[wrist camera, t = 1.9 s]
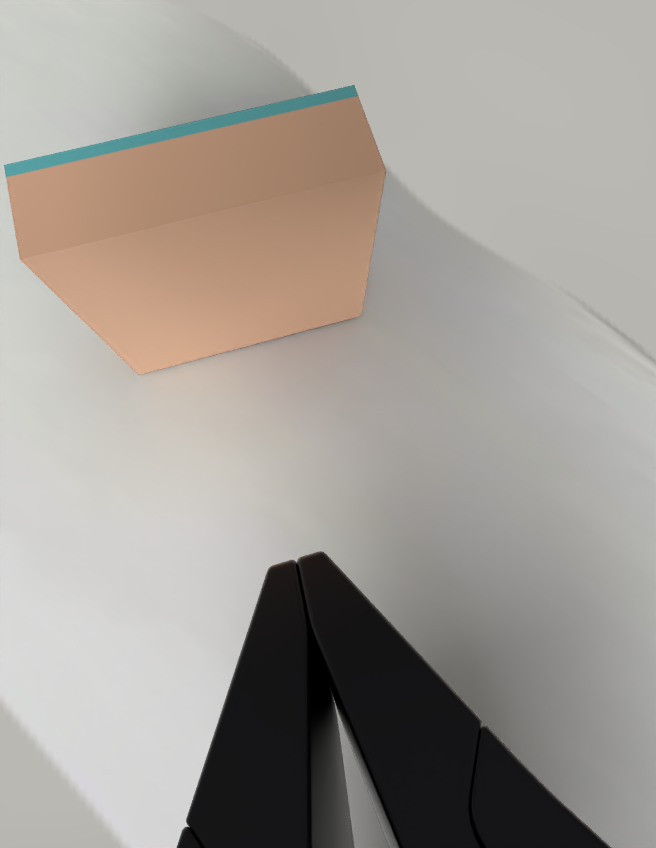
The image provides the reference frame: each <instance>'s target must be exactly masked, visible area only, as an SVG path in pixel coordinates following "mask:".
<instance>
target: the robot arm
mask: <svg viewBox="0 0 656 848" xmlns="http://www.w3.org/2000/svg"><path fill="white" fill-rule="evenodd" d="M333 697H334V698H333ZM334 700H335V703H336V706H337V709H338V712H339V715H340V718H341V721H342V724H343V726H344V729H345V732H346V734H347V737H348V740H349V742H350V745H351V748H352V750H353V753H354V756H355V758H356V761H357V763H358V766H359V769H360V771H361V774H362V777H363V779H364V782H365V785H366V787H367V790H368V793H369V795H370V798H371V801H372V803H373V806H374V808H375V811H376V814H377V816H378V819H379V822H380V824H381V827H382V830H383V832H384V835H385V838H386V840H387V843H388V846H389V848H611V847H610V846H609V845H608V844H607V843H606V842H604V841H603V840H602V839H601V838H600V837H599V836H598V835H597V834H596V833H594V832H593V831H592V830H591V829H590V828H589V827H588V826H587V825H586V824H585V823H584V822H582V821H581V820H580V819H579V818H578V817H577V816H576V815H575V814H574V813H573V812H572V811H571V810H569V809H568V808H567V807H566V806H565V805H564V804H563V803H562V802H561V801H560V800H559V799H557V798H556V797H555V796H554V795H553V794H552V793H551V792H550V791H549V790H548V789H547V788H546V787H545V786H544V785H543V784H542V783H541V782H540V781H539V780H538V779H537V778H536V777H535V776H534V775H533V774H532V773H531V772H530V771H529V770H528V769H527V768H526V767H525V766H524V765H523V764H522V763H521V762H520V761H519V760H518V759H517V758H516V756H515V755H514V754H513V753H512V752H511V751H510V750H509V749H508V748H507V747H506V746H505V745H504V744H503V743H502V742H501V741H500V740H499V738H498V737H497V736H496V735H495V734H494V733H493V732H492V731H491V730H490V729H489V728H488V727H487V726H483V727H482V721H481V720H480V719H479V718H478V716H477V715H476V714H475V713H474V712H473V711H472V710H471V709H470V708H469V707H468V706H467V705H466V704H465V702H464V701H463V700H462V699H461V698H460V697H459V696H458V695H457V694H456V693H455V692H454V691H453V690H452V689H451V687H450V686H449V685H448V684H447V683H446V682H445V681H444V680H443V679H442V678H441V677H440V676H439V675H438V674H437V672H436V671H435V670H434V669H433V668H432V667H431V666H430V665H429V664H428V663H427V662H426V661H425V660H424V659H423V657H422V656H421V655H420V654H419V653H418V652H417V651H416V650H415V649H414V648H413V647H412V646H411V645H410V643H409V642H408V641H407V640H406V639H405V638H404V637H403V636H402V635H401V634H400V633H399V632H398V631H397V630H396V628H395V627H394V626H393V625H392V624H391V623H390V622H389V621H388V620H387V619H386V618H385V617H384V616H383V615H382V613H381V612H380V611H379V610H378V609H377V608H376V607H375V606H374V605H373V604H372V603H371V602H370V601H369V600H368V598H367V597H366V596H365V595H364V594H363V593H362V592H361V591H360V590H359V589H358V588H357V587H356V586H355V584H354V583H353V582H352V581H351V580H350V579H349V578H348V577H347V576H346V575H345V574H344V573H343V572H342V571H341V569H340V568H339V567H338V566H337V565H336V564H335V563H334V562H333V561H332V560H331V559H330V558H329V557H328V556H327V555H326V554H325V553H324V552H321V551H320V552H316V553H313V554H309V555H306V556H303V557H300V558H299V559H298V561H297V562H296V561H294V560H289V561H286V562H283V563H280V564H276V565H273V566H271V567H270V568H269V569H268V571H267V574H266V577H265V580H264V583H263V586H262V589H261V592H260V595H259V598H258V601H257V604H256V607H255V610H254V613H253V617H252V620H251V623H250V626H249V629H248V632H247V635H246V638H245V641H244V644H243V647H242V650H241V653H240V656H239V659H238V662H237V666H236V669H235V672H234V675H233V678H232V681H231V684H230V687H229V690H228V693H227V696H226V699H225V702H224V705H223V708H222V711H221V715H220V718H219V721H218V724H217V727H216V730H215V733H214V736H213V739H212V742H211V745H210V748H209V751H208V754H207V757H206V760H205V764H204V767H203V770H202V773H201V776H200V779H199V782H198V785H197V788H196V791H195V794H194V797H193V800H192V803H191V806H190V809H189V813H188V816H187V819H186V822H187V824H188V826H189V827H190V828H189V827H185V828H184V829H183V830H182V833H181V836H180V839H179V842H178V845H177V848H354V842H353V834H352V826H351V819H350V811H349V803H348V796H347V788H346V780H345V773H344V765H343V757H342V750H341V742H340V734H339V727H338V720H337V714H336V708H335V703H334Z"/></svg>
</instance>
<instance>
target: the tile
mask: <svg viewBox="0 0 656 848" xmlns="http://www.w3.org/2000/svg"><path fill="white" fill-rule="evenodd" d="M4 168H5V174H6V180H7V186H8V191H9V197H10V203H11V209H12V215H13V221H14V227H15V233H16V238H17V244H18V250H19V256H20V260H21V261H22V262H23V263H24V264H25V265H26V266H27V267H28V268H29V269H30V270H31V271H32V272H33V273H34V274H35V275H36V276H37V277H38V278H40V279H41V280H42V281H43V282H44V283H45V284H46V285H47V286H48V287H49V288H50V289H51V290H52V291H53V292H54V293H55V294H56V295H57V296H58V297H59V298H60V299H61V300H62V301H63V302H64V303H65V304H66V305H67V306H68V307H69V308H70V309H71V310H73V311H74V312H75V313H76V314H77V315H78V316H79V317H80V318H81V319H82V320H83V321H84V322H85V323H86V324H87V325H88V326H89V327H90V328H91V329H92V330H93V331H94V332H95V333H96V334H97V335H98V336H99V337H100V338H101V339H102V340H103V341H104V342H105V343H107V344H108V345H109V346H110V347H111V348H112V349H113V350H114V351H115V352H116V353H117V354H118V355H119V356H120V357H121V358H122V359H123V360H124V361H125V362H126V363H127V364H128V365H129V366H130V367H131V368H132V369H133V370H134V371H135V372H136V373H137V374H138V375H141V374H144V373H148V372H152V371H156V370H159V369H163V368H167V367H171V366H175V365H178V364H182V363H186V362H190V361H193V360H197V359H201V358H205V357H208V356H212V355H216V354H220V353H223V352H227V351H231V350H235V349H238V348H242V347H246V346H250V345H253V344H257V343H261V342H265V341H268V340H272V339H276V338H280V337H283V336H287V335H291V334H295V333H298V332H302V331H306V330H310V329H314V328H317V327H321V326H325V325H329V324H332V323H336V322H340V321H344V320H347V319H351V318H355V317H359V316H361V315H362V309H363V303H364V297H365V291H366V286H367V280H368V274H369V268H370V262H371V256H372V250H373V244H374V238H375V233H376V227H377V221H378V215H379V209H380V203H381V197H382V191H383V185H384V179H385V174H386V169H385V166H384V164H383V161H382V158H381V156H380V153H379V150H378V148H377V145H376V142H375V140H374V137H373V135H372V132H371V129H370V127H369V124H368V121H367V118H366V116H365V113H364V110H363V108H362V105H361V103H360V100H359V97H358V94H357V92H356V89H355V86H354V85H352V86H348V87H344V88H339V89H335V90H331V91H327V92H322V93H317V94H313V95H309V96H304V97H300V98H296V99H291V100H287V101H282V102H278V103H274V104H269V105H265V106H261V107H256V108H252V109H247V110H243V111H239V112H234V113H230V114H226V115H221V116H217V117H212V118H208V119H204V120H199V121H195V122H191V123H186V124H182V125H177V126H173V127H169V128H164V129H160V130H156V131H151V132H147V133H143V134H138V135H134V136H129V137H125V138H121V139H116V140H112V141H108V142H103V143H99V144H94V145H90V146H86V147H81V148H77V149H73V150H68V151H64V152H59V153H55V154H51V155H46V156H42V157H38V158H33V159H29V160H24V161H20V162H16V163H11V164H7V165H4Z"/></svg>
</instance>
